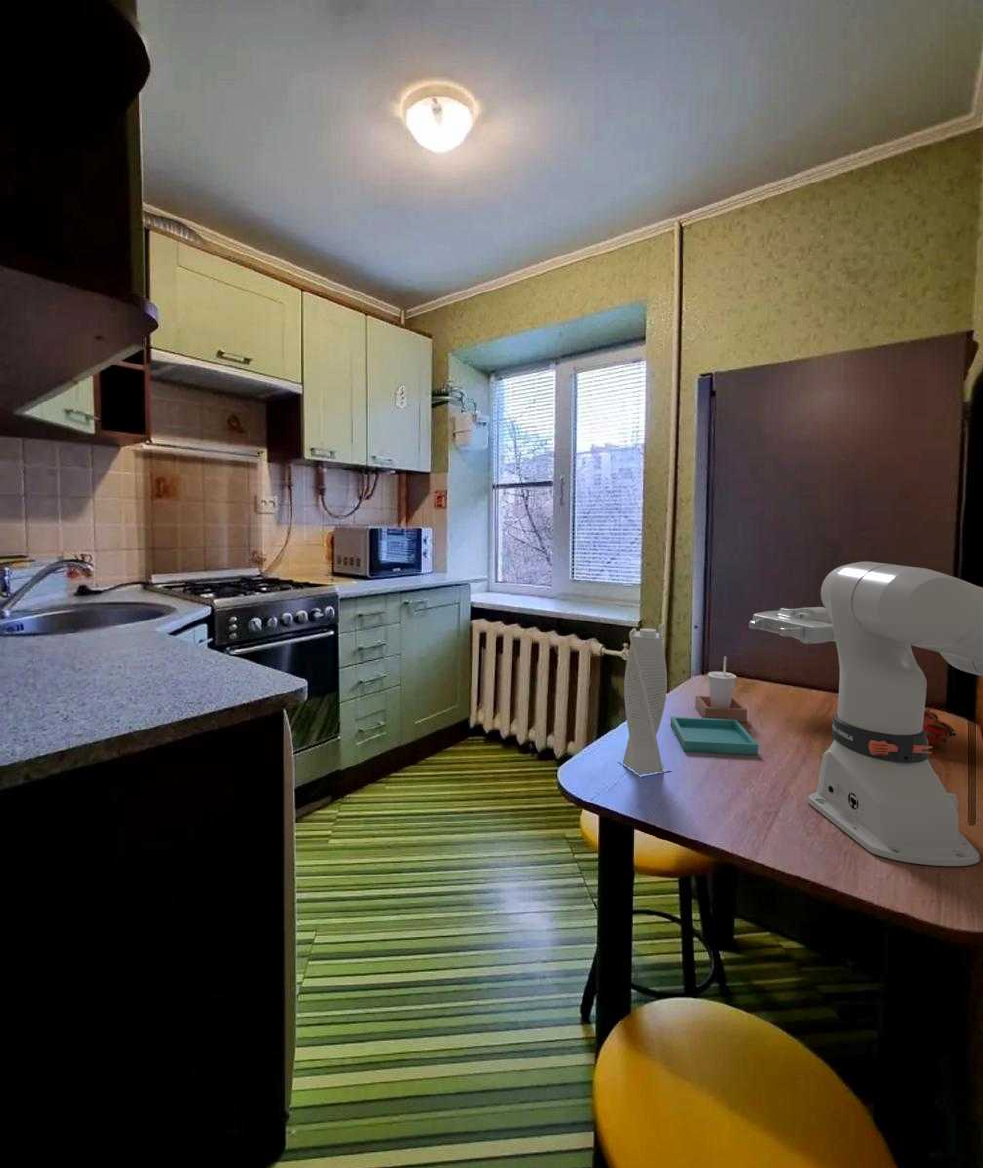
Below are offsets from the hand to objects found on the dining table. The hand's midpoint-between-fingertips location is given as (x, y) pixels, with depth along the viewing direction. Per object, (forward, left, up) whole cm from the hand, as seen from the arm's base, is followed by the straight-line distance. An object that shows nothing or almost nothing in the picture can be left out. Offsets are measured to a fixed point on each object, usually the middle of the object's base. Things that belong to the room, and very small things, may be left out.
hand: (765, 628), depth 134 cm
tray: (-21, +17, -20) cm, 34 cm away
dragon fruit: (-17, -25, -20) cm, 36 cm away
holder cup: (-5, +11, -20) cm, 23 cm away
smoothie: (-5, +11, -20) cm, 24 cm away
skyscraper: (-37, +33, -20) cm, 54 cm away
